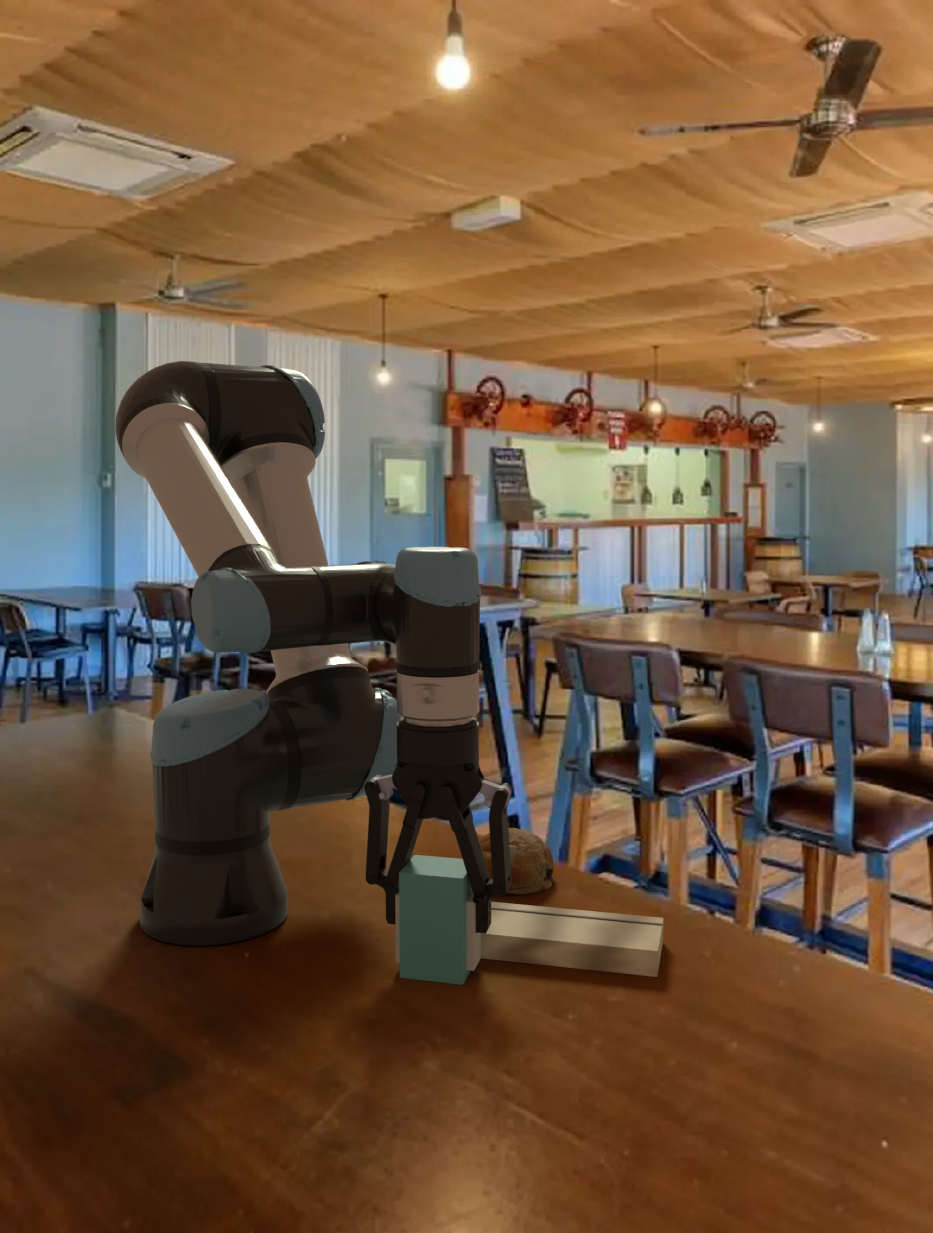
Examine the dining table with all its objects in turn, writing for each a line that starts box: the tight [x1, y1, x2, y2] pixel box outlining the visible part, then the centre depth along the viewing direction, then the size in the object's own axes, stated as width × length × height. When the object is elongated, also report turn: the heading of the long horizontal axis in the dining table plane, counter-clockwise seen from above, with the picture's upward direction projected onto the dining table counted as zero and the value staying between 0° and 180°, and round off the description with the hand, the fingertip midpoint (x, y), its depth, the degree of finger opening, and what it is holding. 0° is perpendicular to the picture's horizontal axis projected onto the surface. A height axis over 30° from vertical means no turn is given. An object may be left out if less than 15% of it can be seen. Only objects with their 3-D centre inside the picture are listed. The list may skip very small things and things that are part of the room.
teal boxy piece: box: [399, 854, 473, 986], centre depth 104 cm, size 6×13×10 cm, turn 166°
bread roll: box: [478, 827, 555, 896], centre depth 124 cm, size 10×10×8 cm
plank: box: [481, 901, 664, 978], centre depth 106 cm, size 23×8×3 cm, turn 76°
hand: (438, 959), depth 101 cm, fingers closed on teal boxy piece, 6 cm apart
